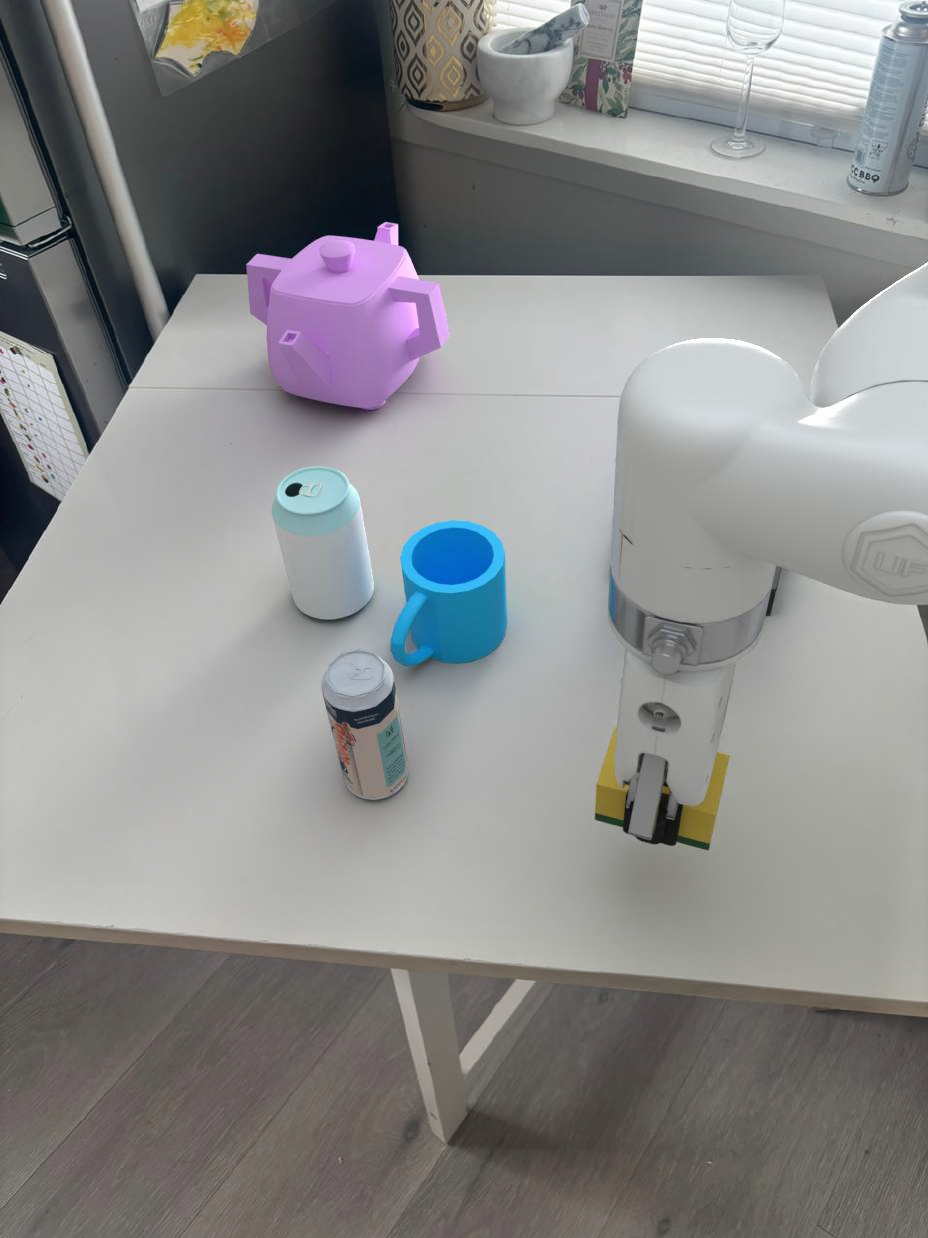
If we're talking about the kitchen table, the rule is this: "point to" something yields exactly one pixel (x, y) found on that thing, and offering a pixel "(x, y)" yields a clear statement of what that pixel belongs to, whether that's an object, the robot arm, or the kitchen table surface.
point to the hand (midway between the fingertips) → (659, 799)
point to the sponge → (693, 819)
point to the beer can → (365, 724)
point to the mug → (451, 594)
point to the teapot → (346, 317)
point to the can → (323, 542)
